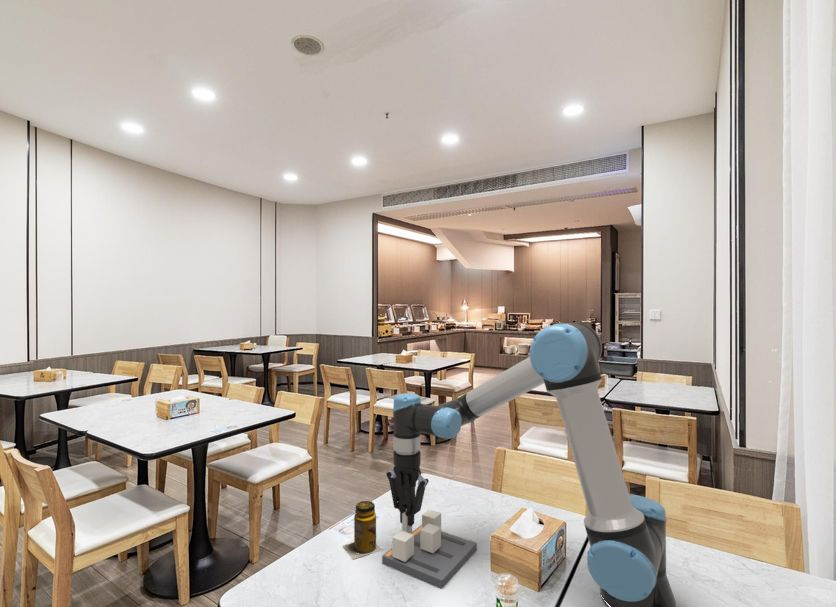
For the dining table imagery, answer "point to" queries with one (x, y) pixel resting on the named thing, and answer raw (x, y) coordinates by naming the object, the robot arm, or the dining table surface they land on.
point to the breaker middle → (430, 538)
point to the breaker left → (403, 545)
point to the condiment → (363, 531)
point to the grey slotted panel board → (434, 559)
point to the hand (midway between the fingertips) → (407, 535)
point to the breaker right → (431, 518)
